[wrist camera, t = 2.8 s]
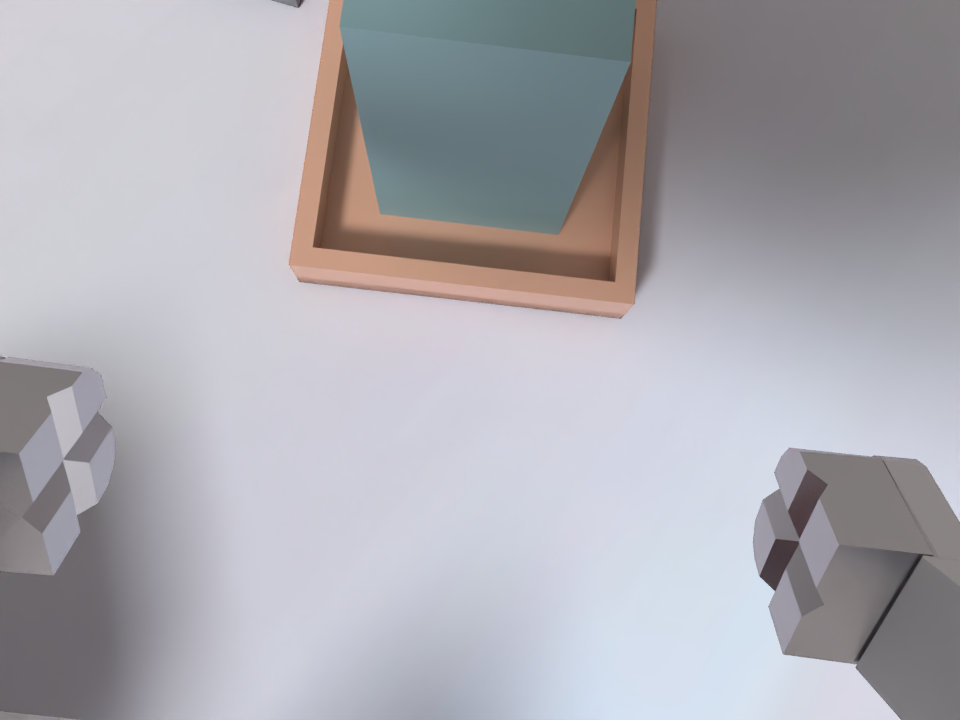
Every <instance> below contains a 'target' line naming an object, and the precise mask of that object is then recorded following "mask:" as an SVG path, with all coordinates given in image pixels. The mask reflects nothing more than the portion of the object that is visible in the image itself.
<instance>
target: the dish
mask: <svg viewBox="0 0 960 720" xmlns="http://www.w3.org/2000/svg"><path fill="white" fill-rule="evenodd" d="M342 6H343V0H329V6H328V13H327V19H326V26H325V32H324V39H323V45H322V52H321V58H320V65H319V71H318V78H317V84H316V91H315V97H314V104H313V110H312V117H311V123H310V130H309V136H308V143H307V149H306V156H305V162H304V169H303V175H302V182H301V188H300V195H299V201H298V208H297V214H296V220H295V227H294V233H293V240H292V246H291V253H290V259H289V266H290V268H291V269H292V271H293V272H294V274H295V276H296V277H297V279H298V280H299V282H306V283H314V284H323V285H332V286H341V287H349V288H358V289H367V290H376V291H384V292H393V293H402V294H411V295H420V296H428V297H437V298H446V299H455V300H463V301H472V302H481V303H490V304H498V305H507V306H516V307H525V308H533V309H542V310H551V311H560V312H568V313H577V314H586V315H595V316H604V317H612V318H622V317H623V316H624V315H625V314H626V313H627V312H628V311H629V309H630V308H631V307H632V306H633V305H634V301H635V287H636V274H637V261H638V247H639V234H640V220H641V207H642V194H643V180H644V167H645V153H646V140H647V127H648V113H649V100H650V86H651V73H652V60H653V46H654V33H655V20H656V6H657V0H636V4H635V16H634V29H633V41H632V54H631V63H630V65H629V68H628V70H627V72H626V75H625V77H624V80H623V82H622V84H621V87H620V89H619V92H618V94H617V96H616V99H615V101H614V103H613V106H612V108H611V111H610V113H609V115H608V118H607V120H606V123H605V125H604V127H603V130H602V132H601V134H600V137H599V139H598V142H597V144H596V146H595V149H594V151H593V154H592V156H591V158H590V161H589V163H588V165H587V168H586V170H585V173H584V175H583V177H582V180H581V182H580V184H579V187H578V189H577V192H576V194H575V196H574V199H573V201H572V204H571V206H570V208H569V211H568V213H567V215H566V218H565V220H564V223H563V225H562V227H561V230H560V232H559V235H554V234H546V233H537V232H528V231H520V230H511V229H503V228H494V227H485V226H477V225H468V224H460V223H451V222H442V221H434V220H425V219H417V218H408V217H399V216H391V215H382V214H380V211H379V206H378V202H377V197H376V193H375V188H374V183H373V179H372V174H371V170H370V165H369V161H368V156H367V151H366V147H365V142H364V138H363V133H362V128H361V124H360V119H359V115H358V110H357V105H356V101H355V96H354V92H353V87H352V82H351V78H350V73H349V69H348V64H347V59H346V55H345V50H344V46H343V41H342V36H341V32H340V27H339V26H340V19H341V13H342Z"/></svg>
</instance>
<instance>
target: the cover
mask: <svg viewBox="0 0 960 720" xmlns="http://www.w3.org/2000/svg"><path fill="white" fill-rule="evenodd" d="M635 4H636V0H343V6H342V13H341V19H340V26H339V27H340V32H341V36H342V41H343V46H344V50H345V55H346V59H347V64H348V69H349V73H350V78H351V82H352V87H353V92H354V96H355V101H356V105H357V110H358V115H359V119H360V124H361V128H362V133H363V138H364V142H365V147H366V151H367V156H368V161H369V165H370V170H371V174H372V179H373V183H374V188H375V193H376V197H377V202H378V206H379V211H380V214H382V215H391V216H399V217H408V218H417V219H425V220H434V221H442V222H451V223H460V224H468V225H477V226H485V227H494V228H503V229H511V230H520V231H528V232H537V233H546V234H554V235H559V232H560V230H561V227H562V225H563V223H564V220H565V218H566V215H567V213H568V211H569V208H570V206H571V204H572V201H573V199H574V196H575V194H576V192H577V189H578V187H579V184H580V182H581V180H582V177H583V175H584V173H585V170H586V168H587V165H588V163H589V161H590V158H591V156H592V154H593V151H594V149H595V146H596V144H597V142H598V139H599V137H600V134H601V132H602V130H603V127H604V125H605V123H606V120H607V118H608V115H609V113H610V111H611V108H612V106H613V103H614V101H615V99H616V96H617V94H618V92H619V89H620V87H621V84H622V82H623V80H624V77H625V75H626V72H627V70H628V68H629V65H630V63H631V54H632V41H633V29H634V16H635Z"/></svg>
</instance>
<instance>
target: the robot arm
mask: <svg viewBox="0 0 960 720" xmlns="http://www.w3.org/2000/svg"><path fill="white" fill-rule="evenodd" d="M106 398H107V397H106V393H105V389H104V385H103V381H102V376H101V374H99V373H98V372H97V371H95V370H94V369H92V368H86V367H79V366H72V365H64V364H57V363H49V362H42V361H35V360H27V359H20V358H12V357H8V358H5V357H2V356H0V571H2V572H15V573H27V574H39V575H52V576H54V574H55V573H56V571H57V569H58V568H59V566H60V564H61V563H62V561H63V560H64V558H65V556H66V555H67V553H68V551H69V550H70V548H71V547H72V545H73V543H74V542H75V540H76V538H77V537H78V535H79V533H80V532H81V531H80V526H79V522H78V518H77V515H78V514H80V513H82V512H84V511H85V510H87V509H89V508H91V507H92V506H94V505H96V504H98V502H99V500H100V499H101V497H102V495H103V493H104V492H105V490H106V488H107V486H108V484H109V480H110V477H111V473H112V470H113V466H114V462H115V440H114V434H113V429H112V426H111V425H110V424H109V423H108V422H107V421H106V420H105V419H104V418H103V417H102V416H101V415H100V414H99V413H98V412H97V411H98V409H99V408H100V406H101V405H102V403H103V402H104V400H105V399H106ZM774 473H775V476H776V479H777V482H778V485H779V488H780V489H778V490H777V491H775V492H774V493H772V494H771V495H769V496H768V497H766V498H765V499H763V501H762V503H761V506H760V509H759V512H758V514H757V517H756V520H755V527H754V537H753V548H754V558H755V562H756V566H757V569H758V573H759V576H760V577H761V578H762V579H763V580H764V581H765V582H766V583H767V584H768V585H769V586H770V587H771V588H772V589H773V590H775V593H774V595H773V598H772V600H771V602H770V604H769V606H768V607H769V610H770V614H771V617H772V620H773V623H774V627H775V630H776V633H777V636H778V640H779V643H780V646H781V650H782V653H783V654H784V655H792V656H799V657H806V658H814V659H821V660H829V661H836V662H843V663H851V664H857V666H856V667H855V668H856V669H857V670H858V671H859V672H860V673H861V675H862V676H863V677H864V678H865V679H866V680H867V681H868V683H869V684H870V685H871V686H872V687H873V688H874V689H875V690H876V692H877V693H878V694H879V695H880V696H881V697H882V698H883V700H884V701H885V702H886V703H887V704H888V705H889V706H890V708H891V709H892V710H893V711H894V712H895V713H896V714H897V715H898V717H899V718H900V719H901V720H960V522H959V520H958V519H957V517H956V515H955V514H954V512H953V510H952V509H951V507H950V505H949V504H948V502H947V500H946V499H945V497H944V495H943V494H942V492H941V490H940V489H939V487H938V485H937V484H936V482H935V480H934V479H933V477H932V475H931V474H930V472H929V470H928V469H927V467H926V466H925V465H924V464H922V463H921V462H919V461H918V460H917V459H908V458H896V457H885V456H872V457H870V456H862V455H853V454H843V453H834V452H825V451H816V450H806V449H797V448H788V450H787V451H786V452H785V453H784V454H783V455H782V456H781V458H780V460H779V463H778V465H777V467H776V470H775V472H774ZM0 720H79V719H69V718H60V717H50V716H41V715H31V714H21V713H12V712H2V711H0Z"/></svg>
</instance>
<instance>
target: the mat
mask: <svg viewBox="0 0 960 720" xmlns="http://www.w3.org/2000/svg"><path fill="white" fill-rule="evenodd" d="M273 1H276V2H280V3H283V4H287V5H290V6H294V7H297V8H298V7H299V5H300V2H301V0H273Z"/></svg>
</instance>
